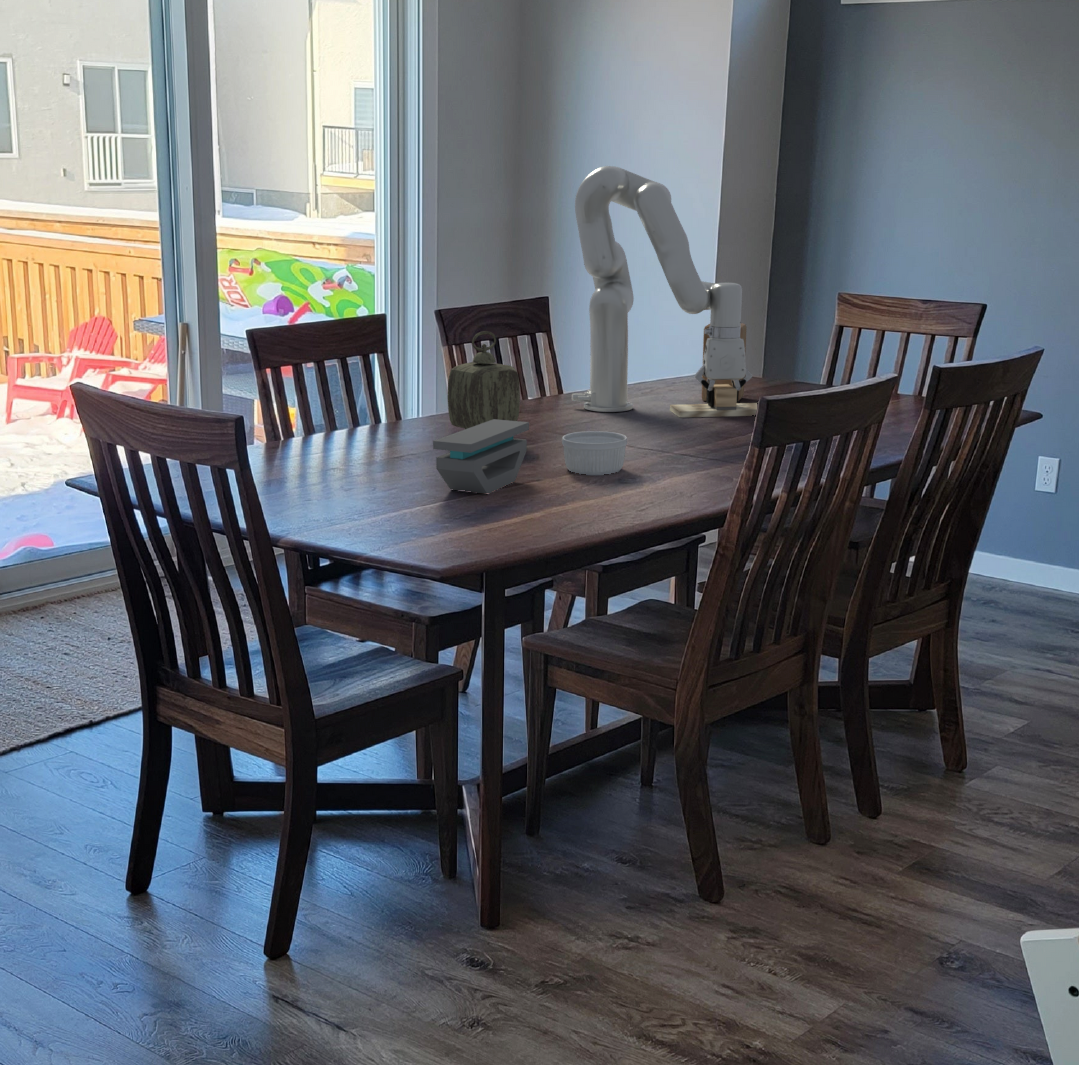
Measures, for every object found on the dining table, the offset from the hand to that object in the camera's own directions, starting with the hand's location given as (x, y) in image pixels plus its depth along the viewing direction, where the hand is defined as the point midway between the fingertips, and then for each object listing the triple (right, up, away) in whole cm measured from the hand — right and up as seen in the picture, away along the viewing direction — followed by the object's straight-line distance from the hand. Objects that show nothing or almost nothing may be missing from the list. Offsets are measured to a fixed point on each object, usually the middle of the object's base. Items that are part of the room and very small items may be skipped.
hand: (722, 404), depth 344 cm
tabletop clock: (-58, -13, -39) cm, 71 cm away
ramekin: (-35, -20, -65) cm, 76 cm away
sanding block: (0, 0, 0) cm, 0 cm away
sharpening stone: (-57, -24, -80) cm, 101 cm away
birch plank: (0, -2, 0) cm, 2 cm away
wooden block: (+3, +3, +20) cm, 21 cm away
